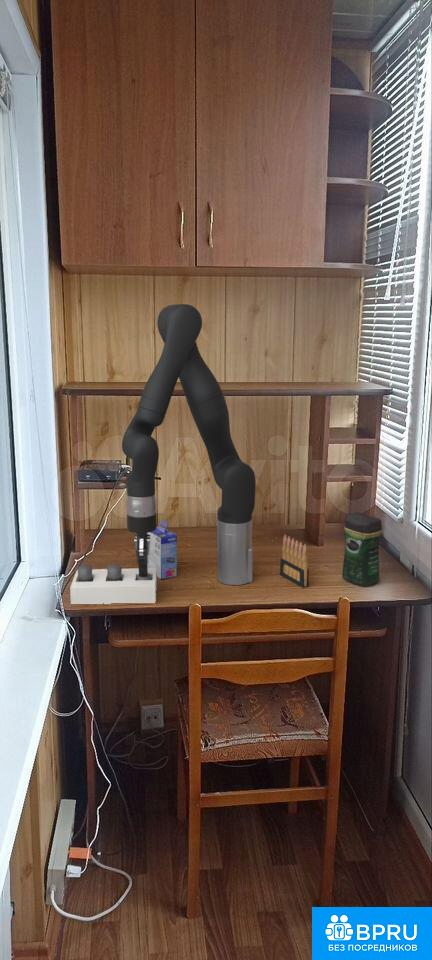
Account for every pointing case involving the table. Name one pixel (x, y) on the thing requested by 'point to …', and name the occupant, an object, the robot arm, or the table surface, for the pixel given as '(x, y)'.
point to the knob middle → (114, 572)
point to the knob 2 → (144, 577)
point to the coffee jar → (361, 549)
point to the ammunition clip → (294, 562)
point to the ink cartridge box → (163, 552)
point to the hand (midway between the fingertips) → (143, 575)
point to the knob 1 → (85, 573)
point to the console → (114, 588)
